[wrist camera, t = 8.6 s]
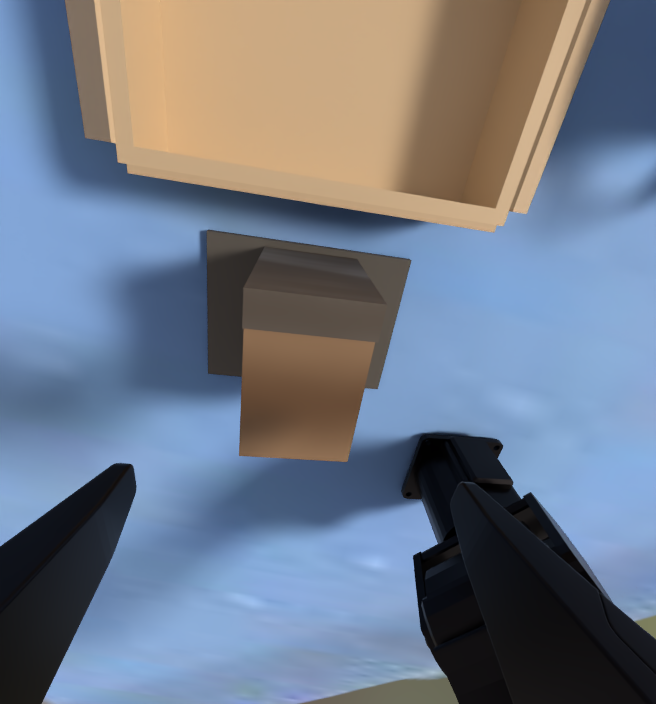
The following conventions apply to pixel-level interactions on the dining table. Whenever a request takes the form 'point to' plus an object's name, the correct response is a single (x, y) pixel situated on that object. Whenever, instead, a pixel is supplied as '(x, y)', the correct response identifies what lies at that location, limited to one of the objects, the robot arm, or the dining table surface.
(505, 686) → the robot arm
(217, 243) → the rubber mat
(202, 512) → the dining table surface
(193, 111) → the carton
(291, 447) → the walnut box
